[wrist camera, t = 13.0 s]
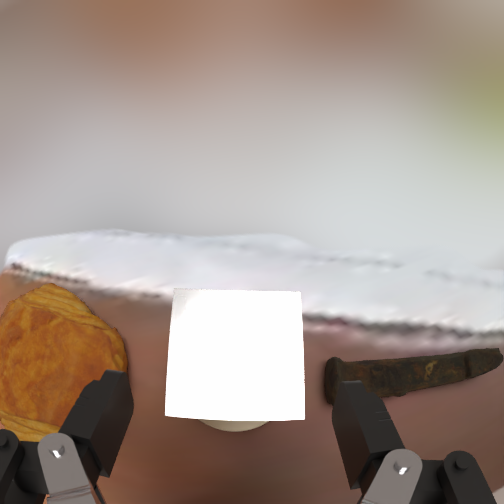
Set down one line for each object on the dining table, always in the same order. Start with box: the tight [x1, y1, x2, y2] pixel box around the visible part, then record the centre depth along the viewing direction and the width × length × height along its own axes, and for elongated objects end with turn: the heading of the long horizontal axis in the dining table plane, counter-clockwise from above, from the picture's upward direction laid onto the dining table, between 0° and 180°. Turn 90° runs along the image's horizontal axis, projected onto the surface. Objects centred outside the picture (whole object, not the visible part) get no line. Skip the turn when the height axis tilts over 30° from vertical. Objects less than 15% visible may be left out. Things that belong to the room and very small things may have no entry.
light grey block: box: [165, 288, 305, 421], centre depth 16 cm, size 5×5×9 cm
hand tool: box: [325, 348, 503, 406], centre depth 23 cm, size 19×4×5 cm, turn 86°
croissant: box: [0, 283, 128, 442], centre depth 20 cm, size 14×16×8 cm
